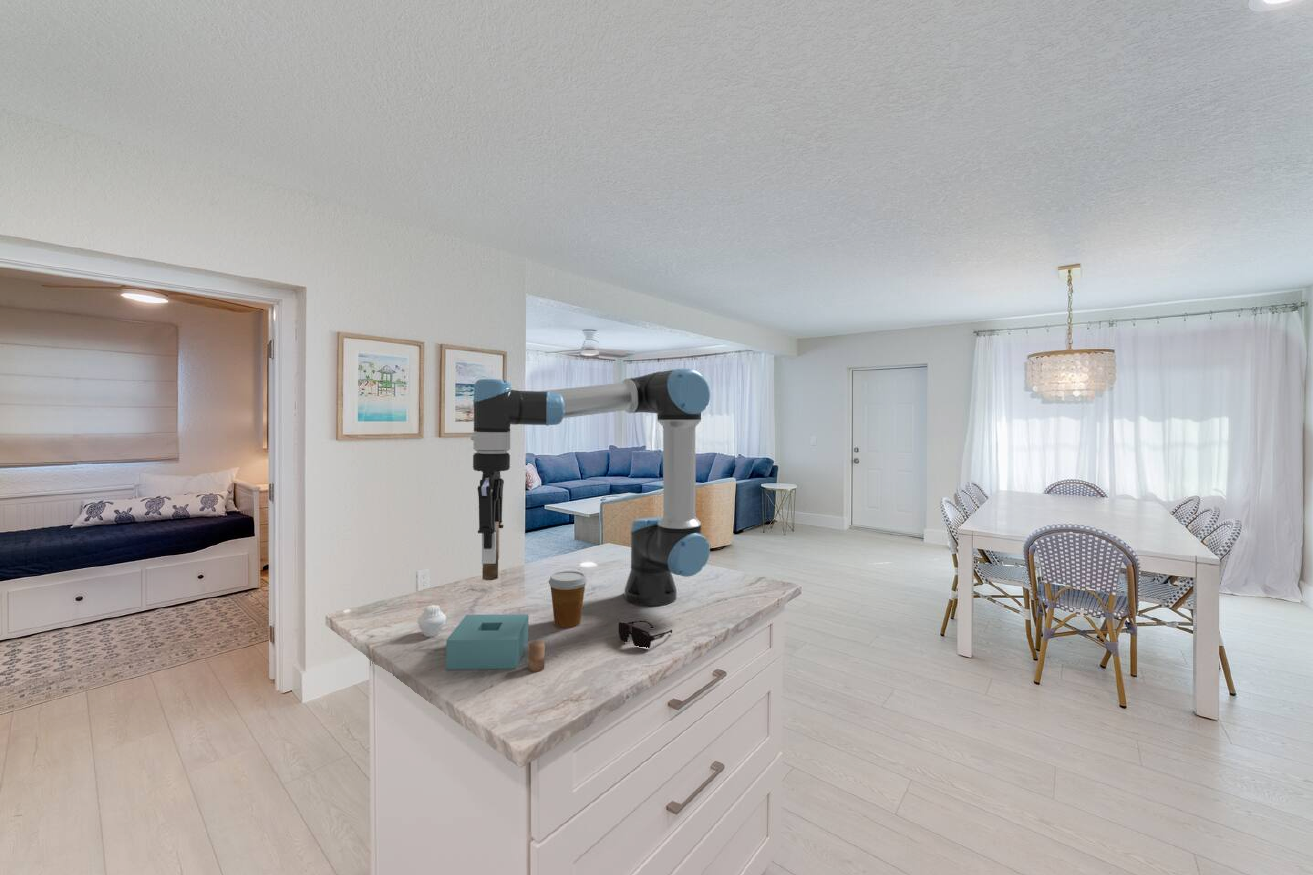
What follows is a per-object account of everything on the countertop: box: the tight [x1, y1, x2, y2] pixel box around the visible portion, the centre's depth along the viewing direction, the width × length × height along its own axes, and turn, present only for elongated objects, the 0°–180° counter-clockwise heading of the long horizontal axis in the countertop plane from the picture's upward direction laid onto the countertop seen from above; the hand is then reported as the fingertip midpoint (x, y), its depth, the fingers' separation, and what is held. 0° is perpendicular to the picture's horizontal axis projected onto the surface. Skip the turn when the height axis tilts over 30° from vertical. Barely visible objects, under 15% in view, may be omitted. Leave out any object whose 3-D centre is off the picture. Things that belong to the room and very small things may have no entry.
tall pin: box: [481, 521, 500, 581], centre depth 113 cm, size 3×3×12 cm
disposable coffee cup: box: [548, 570, 588, 629], centre depth 132 cm, size 10×10×12 cm
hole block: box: [445, 613, 530, 671], centre depth 114 cm, size 14×14×6 cm
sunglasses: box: [617, 620, 673, 649], centre depth 123 cm, size 10×12×5 cm
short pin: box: [527, 640, 546, 673], centre depth 107 cm, size 3×3×5 cm
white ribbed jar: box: [417, 604, 447, 638], centre depth 123 cm, size 6×6×7 cm
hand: (490, 560), depth 113 cm, fingers closed on tall pin, 3 cm apart
